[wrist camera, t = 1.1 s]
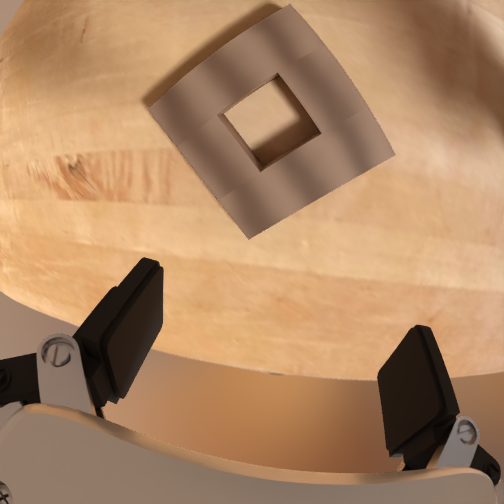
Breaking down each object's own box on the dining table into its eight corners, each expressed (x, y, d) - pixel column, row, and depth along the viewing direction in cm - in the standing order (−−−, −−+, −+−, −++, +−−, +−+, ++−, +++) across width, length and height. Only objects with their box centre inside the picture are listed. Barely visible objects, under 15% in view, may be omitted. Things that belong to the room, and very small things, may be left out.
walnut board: (290, 12, 23) (289, 3, 21) (387, 150, 30) (395, 154, 27) (158, 108, 31) (147, 109, 29) (252, 229, 38) (248, 239, 35)
